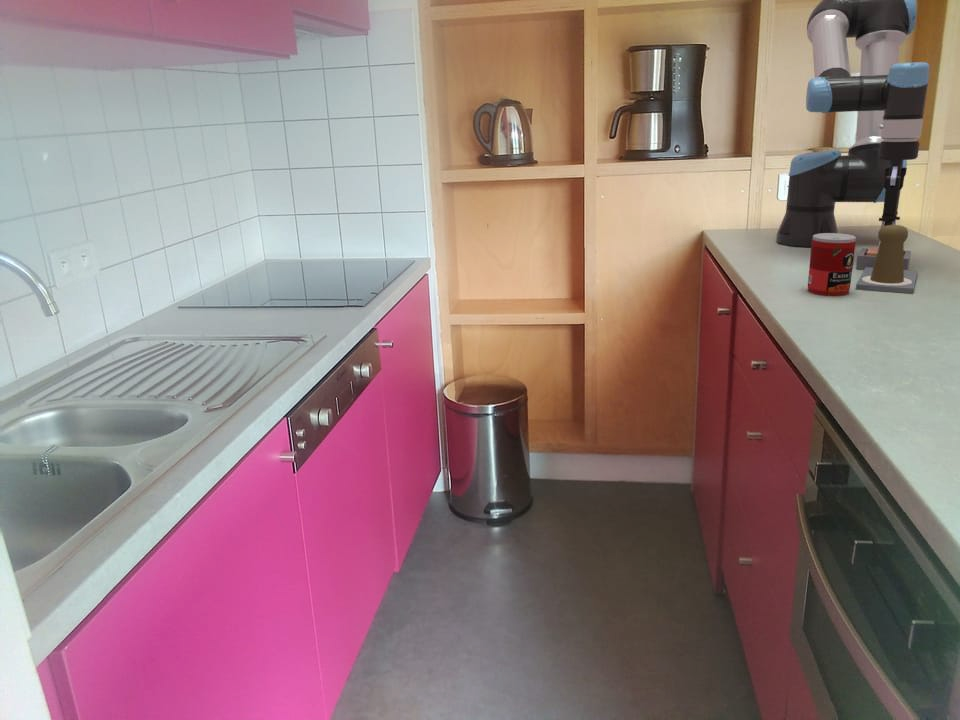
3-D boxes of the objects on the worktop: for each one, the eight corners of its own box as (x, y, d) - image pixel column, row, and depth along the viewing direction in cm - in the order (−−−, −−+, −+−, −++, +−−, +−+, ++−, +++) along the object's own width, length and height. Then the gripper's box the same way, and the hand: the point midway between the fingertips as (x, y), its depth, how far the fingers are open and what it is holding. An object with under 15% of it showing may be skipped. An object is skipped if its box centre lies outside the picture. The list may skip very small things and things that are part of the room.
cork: (907, 283, 151) (916, 227, 147) (874, 283, 152) (882, 228, 148) (898, 277, 156) (906, 223, 153) (866, 276, 158) (873, 223, 154)
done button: (867, 260, 176) (869, 247, 175) (901, 262, 172) (903, 249, 171) (865, 266, 170) (866, 252, 169) (899, 268, 167) (901, 254, 166)
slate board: (865, 271, 167) (865, 266, 167) (917, 275, 162) (917, 270, 162) (855, 289, 152) (856, 283, 152) (912, 293, 148) (913, 288, 147)
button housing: (860, 260, 178) (862, 248, 177) (909, 263, 173) (911, 250, 172) (855, 269, 170) (857, 255, 169) (907, 272, 165) (908, 258, 164)
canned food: (831, 298, 147) (838, 241, 143) (798, 290, 153) (803, 235, 150) (858, 292, 150) (865, 236, 147) (824, 285, 157) (830, 231, 153)
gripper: (882, 138, 170) (869, 244, 177) (877, 142, 159) (863, 254, 167) (921, 138, 166) (906, 246, 173) (918, 141, 155) (902, 256, 163)
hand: (885, 250), depth 170 cm, fingers closed
